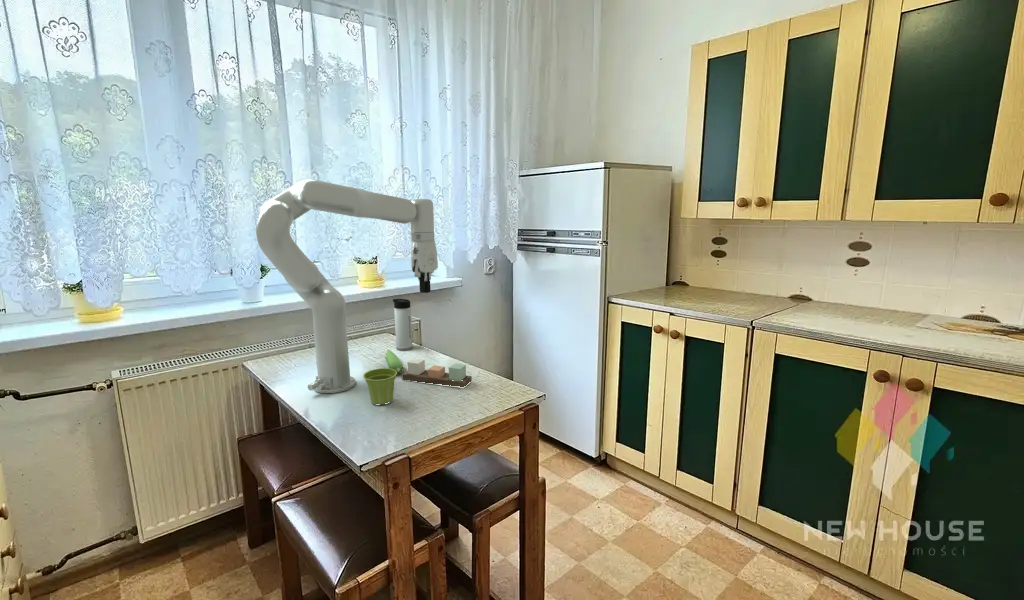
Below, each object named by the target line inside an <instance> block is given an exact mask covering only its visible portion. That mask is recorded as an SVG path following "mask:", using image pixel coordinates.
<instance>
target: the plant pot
mask: <svg viewBox="0 0 1024 600" xmlns="http://www.w3.org/2000/svg"><path fill="white" fill-rule="evenodd" d="M396 376H397V371H396V370H394V369H389V367H383V368H375V369H371V370H368V371H366V372H364V373H363V376H362V377H363V379H364V380H365V382H366V385H367V389H368V393H369V397H370V402H371V404H372V403H374V404H382V405H383V404H385V403H388V402H391V401H392V400H393V401H394V391H395V380H396ZM393 401H392V402H393ZM392 402H391V403H392ZM374 404H373V405H374Z"/></svg>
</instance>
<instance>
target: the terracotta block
mask: <svg viewBox="0 0 1024 600" xmlns="http://www.w3.org/2000/svg"><path fill="white" fill-rule="evenodd" d="M427 370H428V377H431V378H438V379H440V378H442V377H443V376H444V375H445V373H446V367H445V366H443V365H442V366H441V365H432V366H431V367H430V368H428V369H427Z"/></svg>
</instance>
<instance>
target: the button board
mask: <svg viewBox="0 0 1024 600" xmlns="http://www.w3.org/2000/svg"><path fill="white" fill-rule="evenodd" d="M401 374H402V375H401V376H402V381H405V380H410V381H409V382H412V381H417V382H416V383H419V382H425V383H424V384H426V383H433V384H442V385H449V386H450V385H451V386H460V387H464V386H466V385H467V384H468V383H469V382H471V381H472V375H466V377H465V378H464V379H463V381H455V380H454V381H452V380H449V372H445V375H444V376H443V377H442V378H440V379H438V378H431V377H428V369H425V371H424V372H423V373H421V374H420V376H419V375H413V374H408V370H407V371H405V372H404V373H401ZM472 382H473V381H472ZM472 382H471V383H472ZM433 384H432V385H433Z"/></svg>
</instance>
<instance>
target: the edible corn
mask: <svg viewBox="0 0 1024 600" xmlns="http://www.w3.org/2000/svg"><path fill="white" fill-rule="evenodd" d="M384 354H385V356H384V359H385V361H386V364H387V368H389V369H394V370H396V371H397V375H401V374H402V372H403V371H404V365H403V362H402V361H401V359H400V358H399V357H398V356H397V355H396V354H395V353H394V352H393V351H392V350H390V349H387V350H386V353H384ZM397 375H396V376H397Z"/></svg>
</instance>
